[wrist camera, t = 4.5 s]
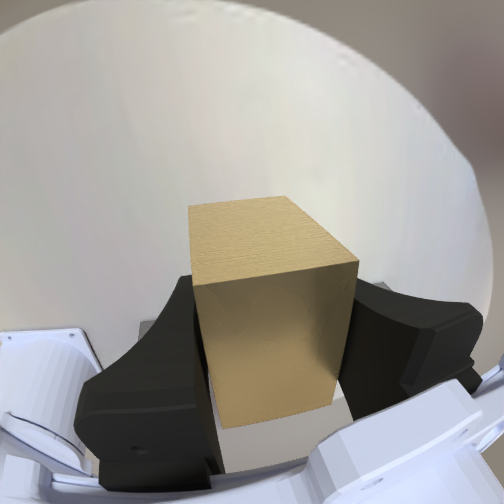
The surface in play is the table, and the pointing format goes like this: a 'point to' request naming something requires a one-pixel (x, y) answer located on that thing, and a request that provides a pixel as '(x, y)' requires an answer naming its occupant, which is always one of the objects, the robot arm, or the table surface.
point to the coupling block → (269, 306)
